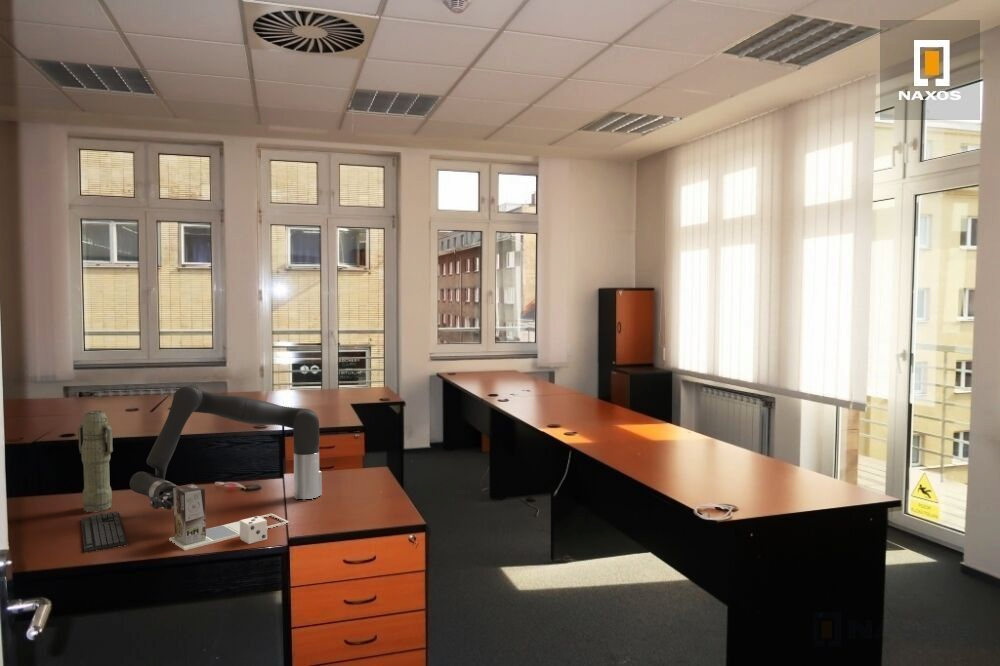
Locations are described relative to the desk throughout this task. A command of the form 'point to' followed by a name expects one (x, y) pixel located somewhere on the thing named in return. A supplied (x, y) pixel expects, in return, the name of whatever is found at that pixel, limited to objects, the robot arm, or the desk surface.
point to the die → (253, 529)
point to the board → (221, 533)
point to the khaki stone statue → (96, 460)
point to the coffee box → (189, 513)
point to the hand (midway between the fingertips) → (184, 503)
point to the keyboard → (103, 531)
